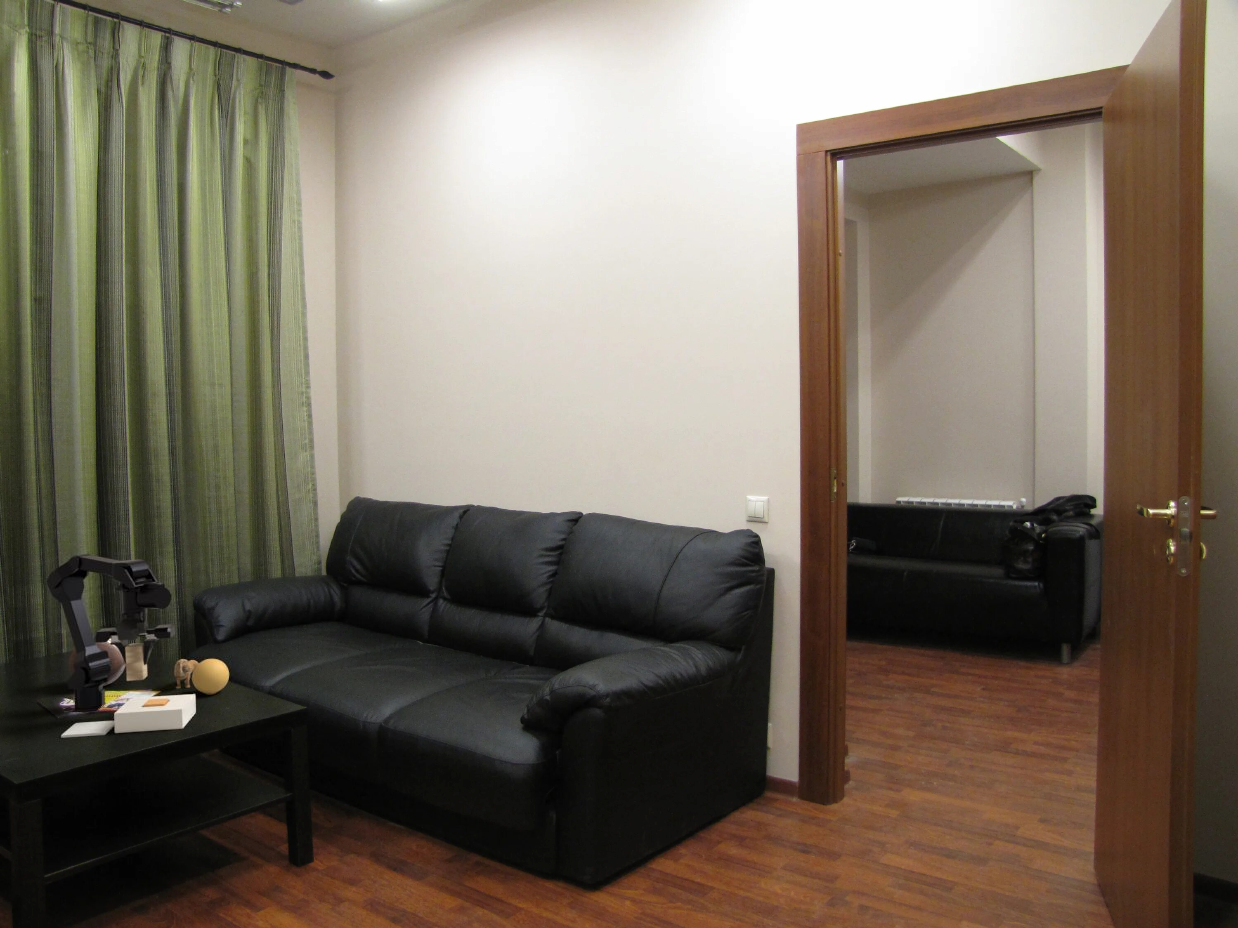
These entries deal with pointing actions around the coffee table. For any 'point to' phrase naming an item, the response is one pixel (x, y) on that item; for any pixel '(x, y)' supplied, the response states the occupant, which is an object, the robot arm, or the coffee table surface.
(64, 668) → the coffee table surface
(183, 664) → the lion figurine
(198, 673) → the stress ball
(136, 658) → the wooden block
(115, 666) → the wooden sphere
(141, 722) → the breaker housing
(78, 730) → the mat
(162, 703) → the button
